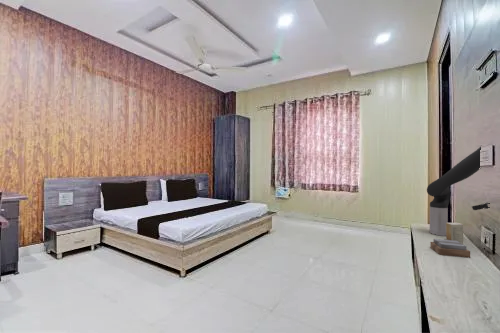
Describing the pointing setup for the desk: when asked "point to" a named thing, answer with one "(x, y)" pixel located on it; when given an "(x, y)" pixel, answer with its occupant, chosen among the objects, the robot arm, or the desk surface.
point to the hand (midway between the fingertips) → (472, 208)
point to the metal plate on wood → (449, 248)
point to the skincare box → (454, 232)
